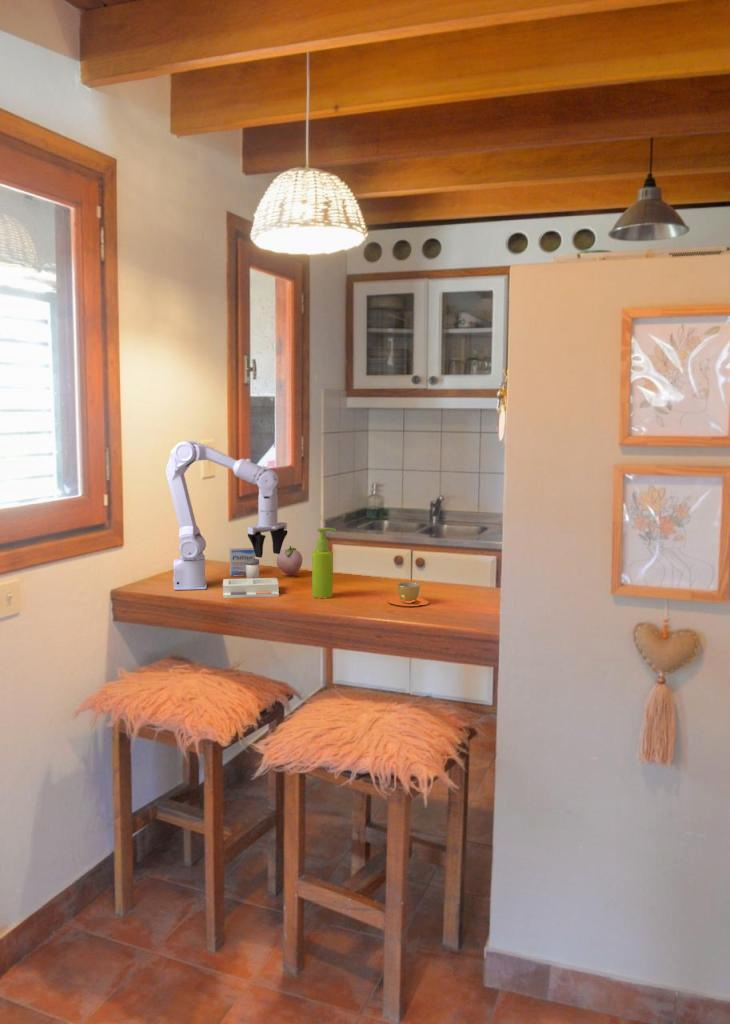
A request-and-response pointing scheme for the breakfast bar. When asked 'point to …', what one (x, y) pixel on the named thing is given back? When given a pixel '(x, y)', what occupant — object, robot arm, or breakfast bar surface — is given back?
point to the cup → (408, 590)
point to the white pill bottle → (252, 568)
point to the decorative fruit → (289, 561)
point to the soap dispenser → (322, 567)
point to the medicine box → (240, 560)
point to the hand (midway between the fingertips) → (267, 555)
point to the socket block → (250, 588)
